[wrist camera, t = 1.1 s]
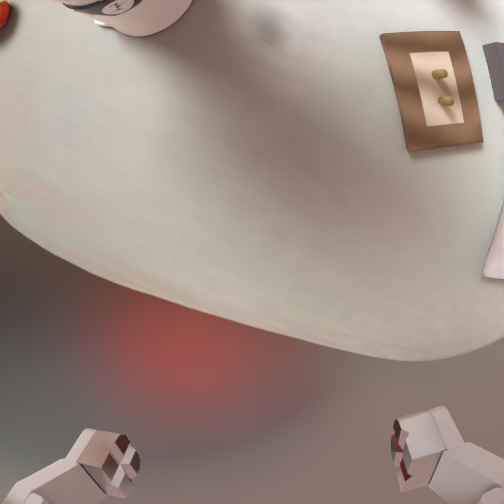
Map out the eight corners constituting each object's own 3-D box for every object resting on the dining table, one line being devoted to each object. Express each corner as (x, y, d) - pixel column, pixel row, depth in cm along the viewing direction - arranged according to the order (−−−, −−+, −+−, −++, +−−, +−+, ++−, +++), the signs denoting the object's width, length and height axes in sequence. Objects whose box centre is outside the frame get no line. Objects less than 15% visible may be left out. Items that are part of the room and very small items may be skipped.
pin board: (379, 36, 31) (387, 29, 28) (455, 33, 29) (468, 28, 25) (407, 150, 38) (417, 154, 34) (478, 140, 35) (492, 145, 31)
